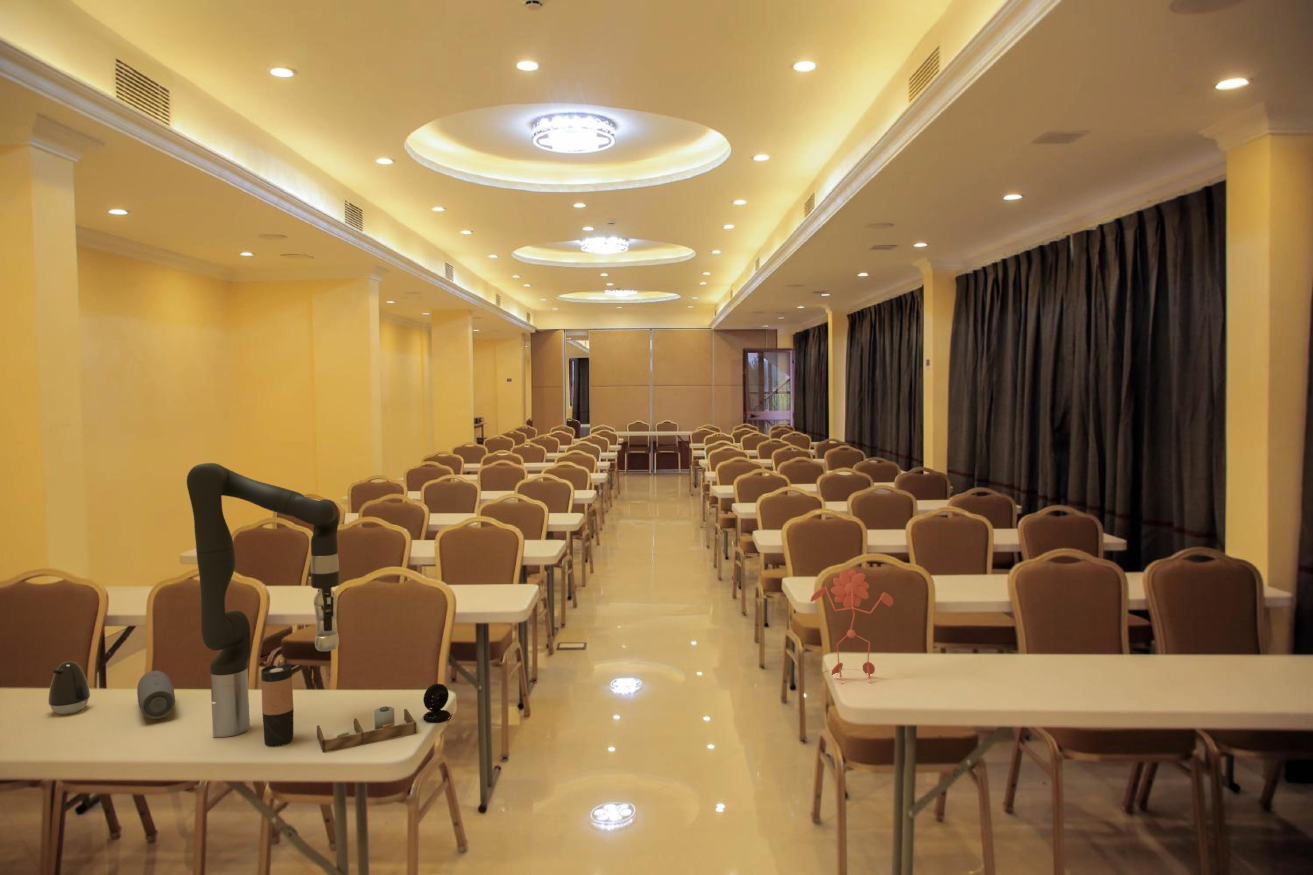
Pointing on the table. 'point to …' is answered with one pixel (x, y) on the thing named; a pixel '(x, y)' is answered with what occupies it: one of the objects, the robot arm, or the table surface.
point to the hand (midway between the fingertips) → (326, 628)
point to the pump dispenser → (68, 689)
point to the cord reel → (383, 716)
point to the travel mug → (277, 705)
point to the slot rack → (367, 734)
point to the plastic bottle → (323, 638)
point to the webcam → (436, 703)
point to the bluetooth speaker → (155, 695)
